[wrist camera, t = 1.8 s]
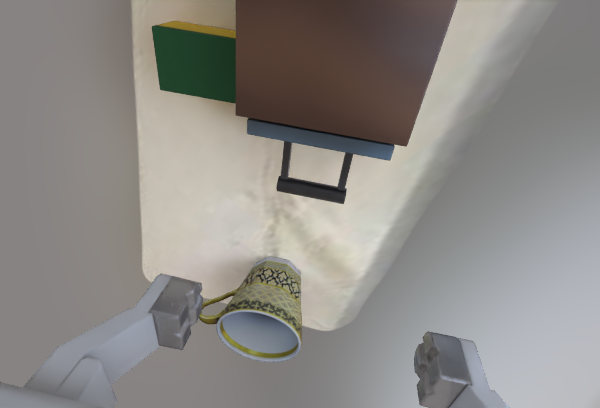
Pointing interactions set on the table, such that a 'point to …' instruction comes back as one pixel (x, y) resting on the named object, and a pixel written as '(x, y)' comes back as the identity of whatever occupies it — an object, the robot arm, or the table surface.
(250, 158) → the table surface
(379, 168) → the table surface
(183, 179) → the table surface
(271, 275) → the ceramic cup
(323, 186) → the drawer
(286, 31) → the cabinet
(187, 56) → the sponge
